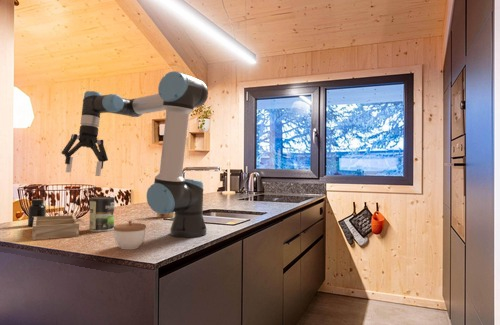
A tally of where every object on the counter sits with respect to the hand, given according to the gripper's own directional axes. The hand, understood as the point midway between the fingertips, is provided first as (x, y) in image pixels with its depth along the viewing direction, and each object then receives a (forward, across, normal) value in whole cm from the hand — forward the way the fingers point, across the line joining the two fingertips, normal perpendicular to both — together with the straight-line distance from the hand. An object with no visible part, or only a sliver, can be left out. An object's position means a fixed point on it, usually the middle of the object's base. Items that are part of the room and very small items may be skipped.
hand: (83, 174), depth 156 cm
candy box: (+18, -52, -3) cm, 55 cm away
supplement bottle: (+24, +4, -28) cm, 37 cm away
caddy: (+25, +6, -6) cm, 27 cm away
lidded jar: (+27, +4, +41) cm, 49 cm away
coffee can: (+24, -9, +4) cm, 26 cm away
